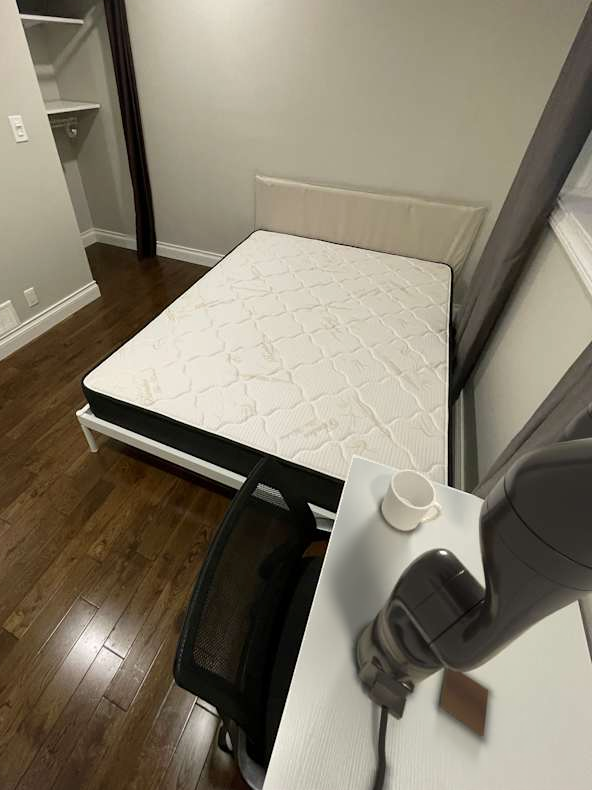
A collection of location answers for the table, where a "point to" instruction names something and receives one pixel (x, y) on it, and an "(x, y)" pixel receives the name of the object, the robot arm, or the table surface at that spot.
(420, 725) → the table surface
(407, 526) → the mug
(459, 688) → the coaster
